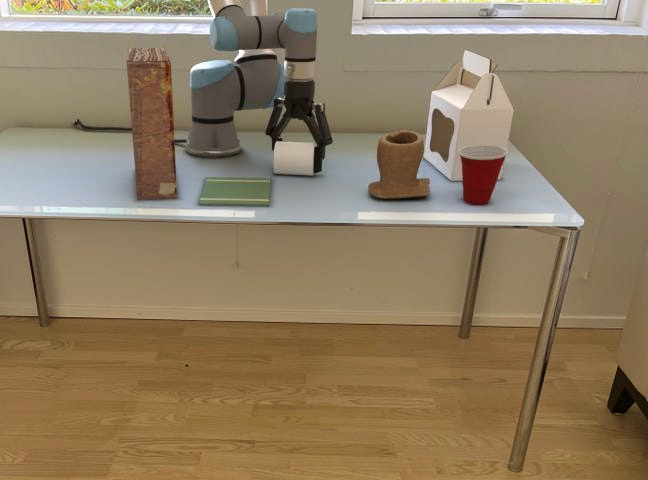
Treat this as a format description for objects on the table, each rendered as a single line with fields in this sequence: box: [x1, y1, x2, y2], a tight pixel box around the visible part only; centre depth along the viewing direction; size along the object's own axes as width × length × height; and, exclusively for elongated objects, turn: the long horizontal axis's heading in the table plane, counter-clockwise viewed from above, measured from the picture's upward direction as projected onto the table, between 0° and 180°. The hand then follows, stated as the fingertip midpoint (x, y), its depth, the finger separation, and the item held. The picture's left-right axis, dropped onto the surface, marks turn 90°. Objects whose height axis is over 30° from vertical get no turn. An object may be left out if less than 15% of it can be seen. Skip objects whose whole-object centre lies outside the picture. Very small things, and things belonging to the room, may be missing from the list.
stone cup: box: [367, 129, 431, 199], centre depth 167 cm, size 15×12×15 cm
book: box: [126, 44, 178, 201], centre depth 171 cm, size 25×9×30 cm, turn 9°
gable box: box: [423, 49, 515, 182], centre depth 184 cm, size 22×13×28 cm, turn 7°
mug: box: [272, 140, 317, 177], centre depth 186 cm, size 12×10×8 cm
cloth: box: [198, 176, 272, 207], centre depth 173 cm, size 16×20×1 cm
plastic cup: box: [458, 145, 509, 206], centre depth 165 cm, size 11×11×12 cm
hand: (297, 168), depth 187 cm, fingers closed on mug, 12 cm apart
